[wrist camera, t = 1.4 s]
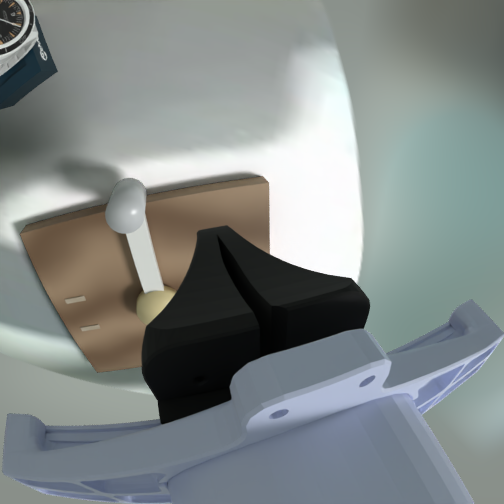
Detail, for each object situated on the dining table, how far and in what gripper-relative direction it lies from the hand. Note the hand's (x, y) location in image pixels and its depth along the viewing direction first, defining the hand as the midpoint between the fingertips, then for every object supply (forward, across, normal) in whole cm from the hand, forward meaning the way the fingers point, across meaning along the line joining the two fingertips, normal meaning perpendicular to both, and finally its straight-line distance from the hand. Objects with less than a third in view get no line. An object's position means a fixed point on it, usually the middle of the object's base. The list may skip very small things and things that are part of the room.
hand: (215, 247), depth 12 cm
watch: (+11, +12, -12) cm, 20 cm away
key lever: (+9, +5, +5) cm, 11 cm away
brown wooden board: (+10, +4, +10) cm, 15 cm away
